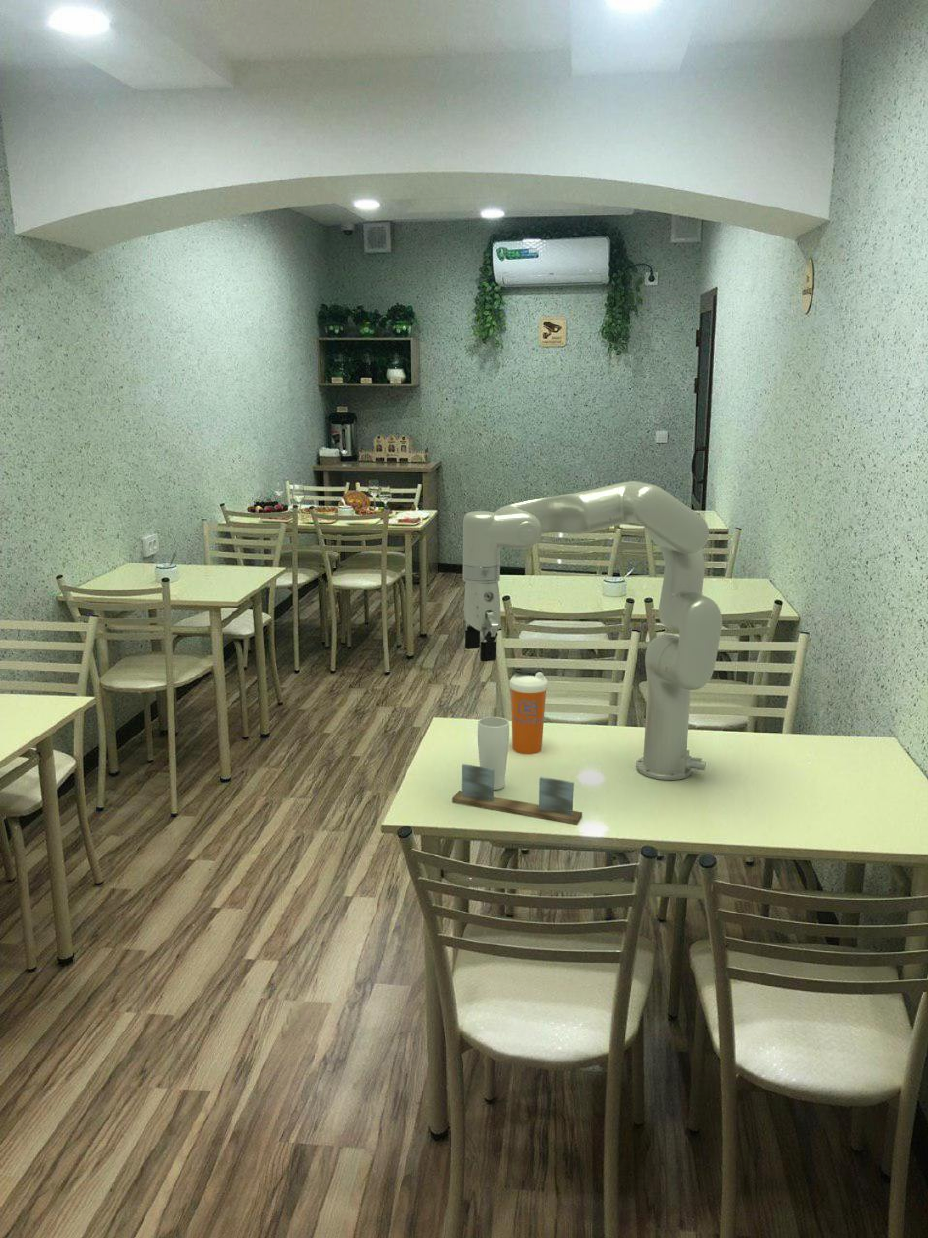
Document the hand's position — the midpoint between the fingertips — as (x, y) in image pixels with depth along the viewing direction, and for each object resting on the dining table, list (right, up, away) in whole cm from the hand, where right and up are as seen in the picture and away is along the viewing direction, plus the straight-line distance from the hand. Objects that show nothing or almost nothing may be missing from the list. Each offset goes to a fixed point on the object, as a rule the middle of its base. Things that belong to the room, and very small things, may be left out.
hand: (480, 654), depth 194 cm
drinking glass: (+3, -30, +11) cm, 32 cm away
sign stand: (+7, -32, 0) cm, 33 cm away
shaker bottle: (+12, -24, +33) cm, 43 cm away
